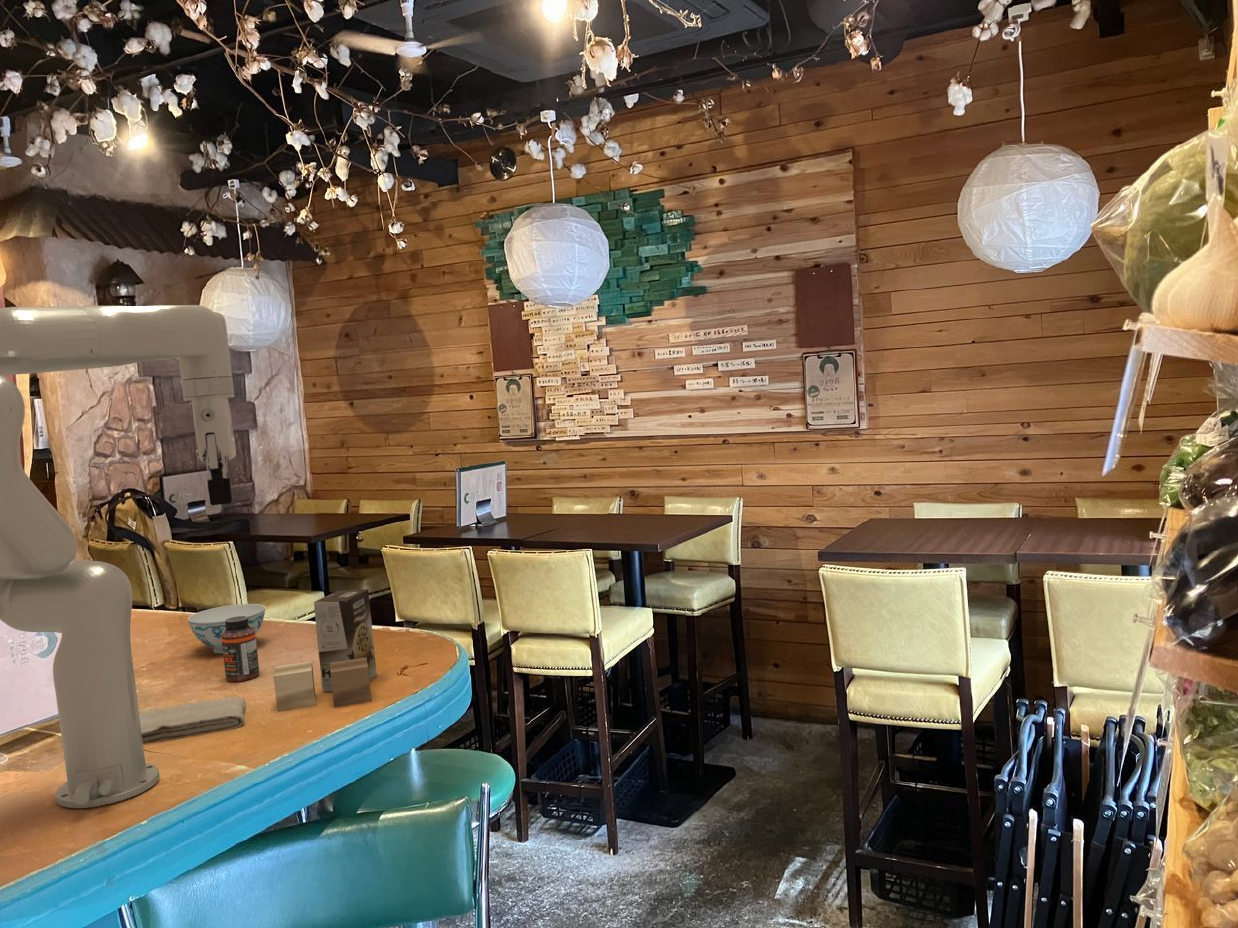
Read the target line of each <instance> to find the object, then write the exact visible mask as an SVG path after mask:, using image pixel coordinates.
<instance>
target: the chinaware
mask: <svg viewBox="0 0 1238 928" xmlns="http://www.w3.org/2000/svg"><path fill="white" fill-rule="evenodd" d="M265 613H266V606H265V605H263V604H257V603H242V604H241V603H238V604H230V605H224V606H218V607H213V608H209V609H205V610H201V611H197V612H196V613H193V614H191V615H190V616H188V618H187V622H188V626H189V628H190V630H191V631H192V633H193V634H194V636H195V637H196V639H198V641H199V642H201V643H202V644H203V645H205V646H207V647H209V648H211V649H212V650H213V653H215V654H223V648H222V639H221V635H222V633H223V632H224V631H225V629H226V627H225V620H226V619H228V618H232V617H237V616H247V617H248V622H249V624H248V625H249V626H250V627H252V628H253V629H254V630H255V636H256V635H257V634H259V633H258V632H259V631H260V630H261V628H262V626H263V623H264V619H265Z"/></svg>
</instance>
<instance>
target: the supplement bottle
mask: <svg viewBox="0 0 1238 928" xmlns="http://www.w3.org/2000/svg"><path fill="white" fill-rule="evenodd" d="M248 624H249V622H248V617H247V616H237V617H232V618H228V619H226V620H225V627H226V629H225V631H224V632H223V633H222V635H221V639H222V648H223V653H222V655H223V665H224V675H225V679H226V680H227V681H228V682H231V683H232V682H233V683H239V682H245V681H249V680H252V679H255V678H256V677H258V676H259V674H260V664H259V655H258V647H257V637H256V635H255V630H254V629H253V628H252V627H250V626H249V625H248Z"/></svg>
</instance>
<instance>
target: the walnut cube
mask: <svg viewBox="0 0 1238 928" xmlns="http://www.w3.org/2000/svg"><path fill="white" fill-rule="evenodd" d="M330 673H331V682H332V691H331V692H332V699H333V707H334V708H339V707H340V708H341V707H344V706H350V705H357V704H363V703H369V702H372V694H371V693H372V692H371V684H370V683H371V682H370V681H369V673H368V664H367V658H359V659H352V660H346V661H339V662H333V663H330Z"/></svg>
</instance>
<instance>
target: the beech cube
mask: <svg viewBox="0 0 1238 928" xmlns="http://www.w3.org/2000/svg"><path fill="white" fill-rule="evenodd" d="M273 685H274V692H275V702H276V709H277V712H280V710H281V711H286V709H288V710H293V709H292V708H294V709H298V708H299V709H300V708H306V707H310V706H316V698H317V697H316V696H317V695H316V685H315V677H314V667H313V661H312V660H310V661H303V662H298V663H297V662H296V663H290V664H283V665H277V666H275V667H274V672H273Z"/></svg>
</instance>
